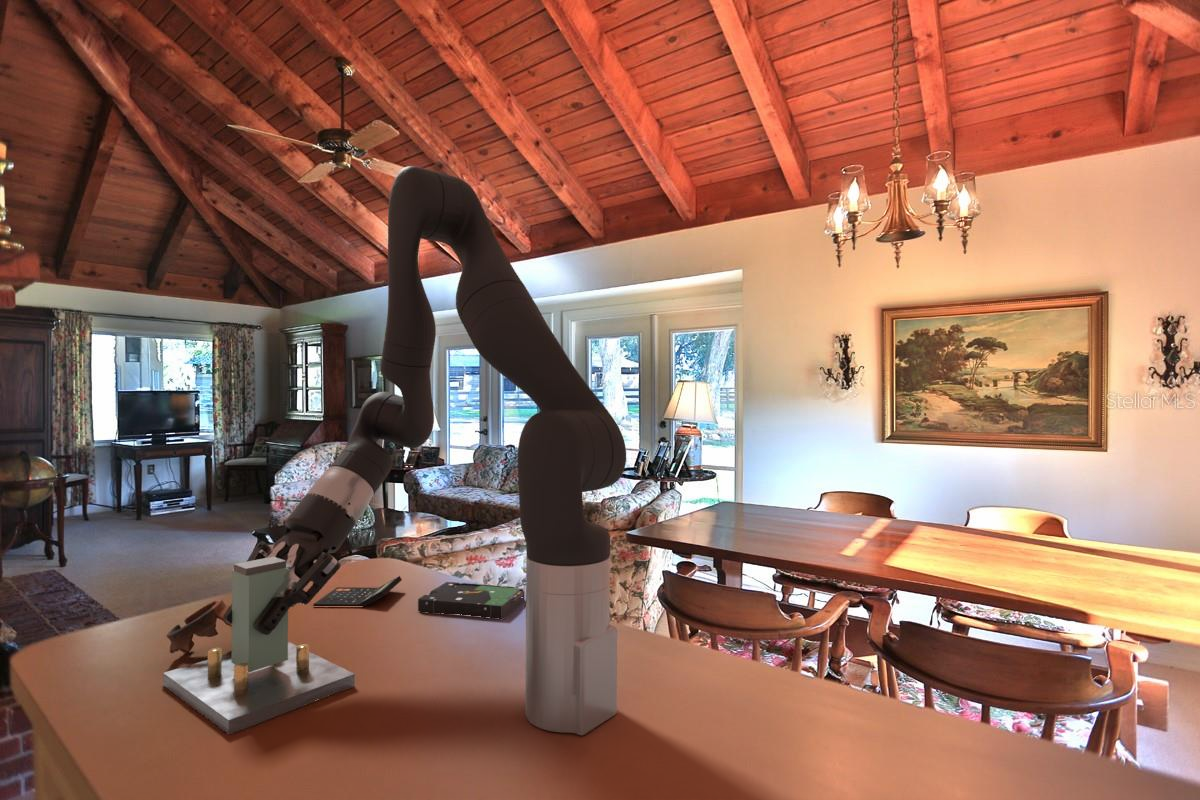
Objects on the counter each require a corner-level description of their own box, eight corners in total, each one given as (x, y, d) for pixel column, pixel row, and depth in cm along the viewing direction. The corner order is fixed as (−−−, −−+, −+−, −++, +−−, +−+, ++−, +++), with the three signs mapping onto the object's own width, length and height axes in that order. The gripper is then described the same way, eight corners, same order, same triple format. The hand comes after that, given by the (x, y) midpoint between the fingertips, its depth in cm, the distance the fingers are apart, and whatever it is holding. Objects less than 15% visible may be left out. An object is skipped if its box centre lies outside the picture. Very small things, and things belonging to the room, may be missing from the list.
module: (288, 659, 76) (288, 561, 76) (247, 672, 72) (248, 569, 72) (270, 650, 79) (271, 555, 79) (230, 662, 75) (231, 563, 75)
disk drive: (416, 616, 102) (503, 622, 99) (416, 599, 102) (503, 604, 99) (445, 597, 112) (525, 602, 109) (445, 581, 112) (525, 585, 109)
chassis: (354, 686, 76) (354, 648, 76) (228, 734, 64) (228, 690, 64) (281, 649, 87) (281, 616, 87) (163, 685, 75) (163, 647, 76)
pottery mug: (234, 675, 80) (195, 623, 78) (179, 700, 82) (141, 649, 80) (290, 619, 91) (257, 572, 90) (240, 642, 93) (208, 597, 92)
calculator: (337, 592, 114) (337, 575, 114) (401, 592, 114) (402, 575, 114) (313, 609, 104) (313, 590, 104) (383, 609, 104) (383, 591, 104)
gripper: (278, 487, 86) (185, 601, 75) (353, 495, 79) (262, 622, 68) (312, 520, 90) (229, 631, 80) (385, 530, 84) (305, 653, 73)
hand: (245, 626), depth 74 cm, fingers closed on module, 5 cm apart
